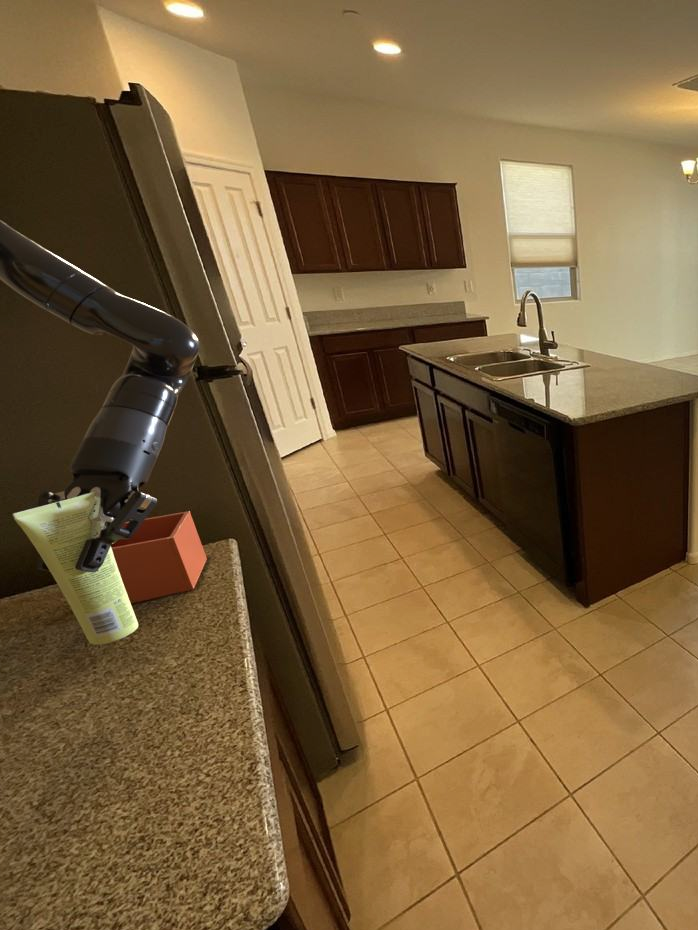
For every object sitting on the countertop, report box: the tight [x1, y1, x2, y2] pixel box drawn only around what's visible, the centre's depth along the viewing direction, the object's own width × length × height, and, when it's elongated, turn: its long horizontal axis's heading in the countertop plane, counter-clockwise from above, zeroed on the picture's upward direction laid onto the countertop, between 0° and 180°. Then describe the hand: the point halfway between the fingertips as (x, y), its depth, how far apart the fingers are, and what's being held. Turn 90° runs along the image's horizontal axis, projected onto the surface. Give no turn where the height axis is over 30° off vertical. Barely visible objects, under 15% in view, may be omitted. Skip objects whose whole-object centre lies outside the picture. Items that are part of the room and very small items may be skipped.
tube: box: [12, 492, 139, 646], centre depth 67 cm, size 6×5×20 cm
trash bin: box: [105, 510, 208, 604], centre depth 92 cm, size 12×12×11 cm
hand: (67, 570), depth 64 cm, fingers closed on tube, 4 cm apart
